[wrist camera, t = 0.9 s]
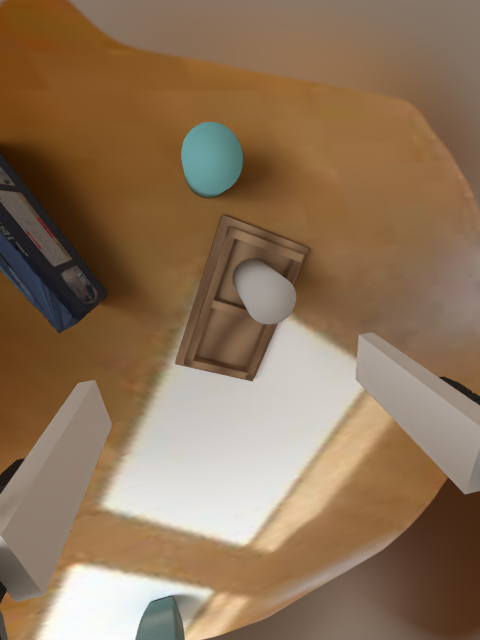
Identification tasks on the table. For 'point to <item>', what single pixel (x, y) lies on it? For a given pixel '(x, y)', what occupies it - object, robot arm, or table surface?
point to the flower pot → (161, 621)
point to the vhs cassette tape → (42, 257)
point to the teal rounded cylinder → (211, 159)
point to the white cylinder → (264, 291)
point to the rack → (234, 302)
